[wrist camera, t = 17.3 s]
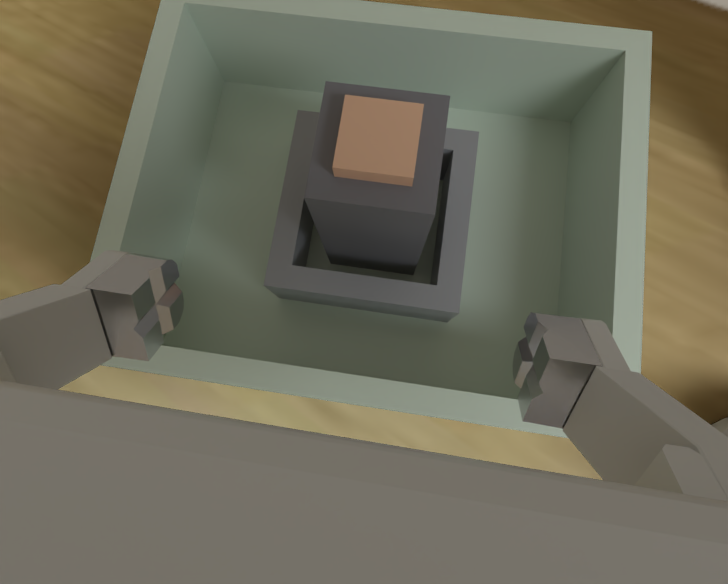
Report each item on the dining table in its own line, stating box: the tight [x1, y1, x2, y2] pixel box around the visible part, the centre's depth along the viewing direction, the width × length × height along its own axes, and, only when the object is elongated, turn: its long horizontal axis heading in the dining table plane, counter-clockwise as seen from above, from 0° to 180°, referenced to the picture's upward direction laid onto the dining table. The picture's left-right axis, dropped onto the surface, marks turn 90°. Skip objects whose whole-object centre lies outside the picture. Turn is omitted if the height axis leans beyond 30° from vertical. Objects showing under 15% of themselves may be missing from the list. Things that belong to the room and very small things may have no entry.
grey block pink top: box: [304, 81, 450, 275], centre depth 17 cm, size 4×4×9 cm
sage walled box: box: [90, 0, 652, 438], centre depth 20 cm, size 20×16×6 cm
